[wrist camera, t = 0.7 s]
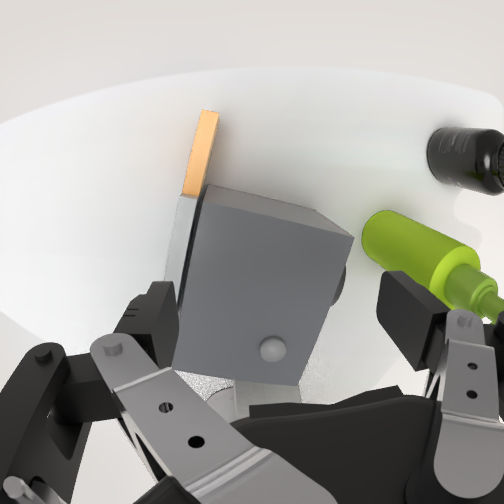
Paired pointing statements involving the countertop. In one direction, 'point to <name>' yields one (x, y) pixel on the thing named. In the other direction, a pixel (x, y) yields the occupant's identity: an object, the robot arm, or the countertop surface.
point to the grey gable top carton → (261, 395)
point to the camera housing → (258, 288)
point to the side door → (190, 201)
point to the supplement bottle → (469, 158)
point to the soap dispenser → (432, 263)
